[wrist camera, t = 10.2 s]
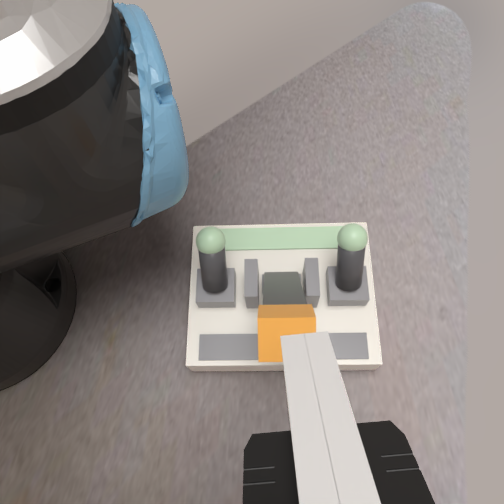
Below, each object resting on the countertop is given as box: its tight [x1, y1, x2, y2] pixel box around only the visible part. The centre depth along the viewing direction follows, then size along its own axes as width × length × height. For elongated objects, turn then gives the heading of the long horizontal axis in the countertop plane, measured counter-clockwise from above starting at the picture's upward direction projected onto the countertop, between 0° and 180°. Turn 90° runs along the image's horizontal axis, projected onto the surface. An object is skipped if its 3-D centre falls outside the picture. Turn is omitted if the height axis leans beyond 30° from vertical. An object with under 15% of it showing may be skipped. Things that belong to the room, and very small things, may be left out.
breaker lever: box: [257, 272, 316, 362], centre depth 30 cm, size 3×2×13 cm
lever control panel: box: [186, 222, 382, 372], centre depth 35 cm, size 15×12×9 cm
